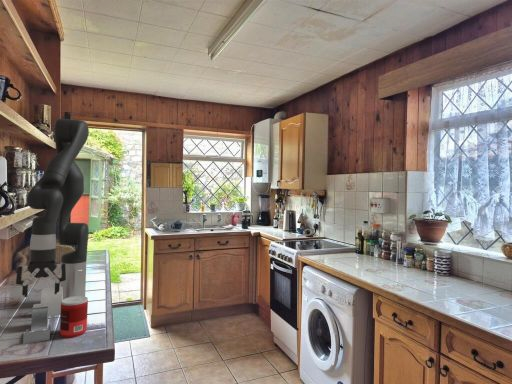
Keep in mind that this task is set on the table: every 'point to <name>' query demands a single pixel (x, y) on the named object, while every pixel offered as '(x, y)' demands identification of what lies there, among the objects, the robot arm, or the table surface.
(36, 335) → the rail channel
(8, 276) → the table surface
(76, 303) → the canned food
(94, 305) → the table surface
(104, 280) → the table surface
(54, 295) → the tea bag
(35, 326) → the block
